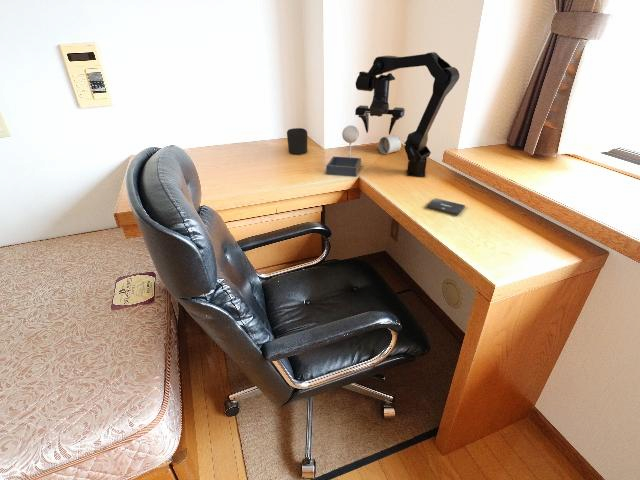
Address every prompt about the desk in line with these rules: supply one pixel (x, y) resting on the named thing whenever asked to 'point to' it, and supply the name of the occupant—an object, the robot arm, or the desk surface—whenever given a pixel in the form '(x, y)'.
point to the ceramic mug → (389, 144)
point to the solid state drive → (446, 206)
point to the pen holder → (297, 141)
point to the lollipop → (350, 135)
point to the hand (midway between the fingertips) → (378, 133)
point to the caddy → (344, 166)
